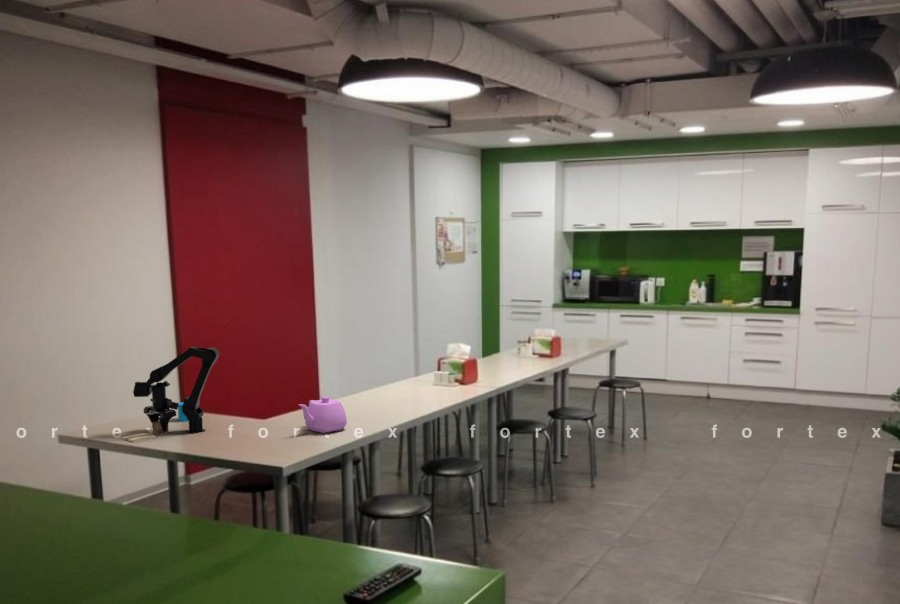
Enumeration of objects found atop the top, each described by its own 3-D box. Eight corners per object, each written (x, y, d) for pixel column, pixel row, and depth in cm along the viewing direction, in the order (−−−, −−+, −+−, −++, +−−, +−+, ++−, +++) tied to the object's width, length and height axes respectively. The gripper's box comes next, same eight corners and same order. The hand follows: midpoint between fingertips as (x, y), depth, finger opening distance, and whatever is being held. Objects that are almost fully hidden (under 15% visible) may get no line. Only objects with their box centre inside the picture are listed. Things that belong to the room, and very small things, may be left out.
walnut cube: (168, 432, 324) (168, 421, 324) (158, 434, 320) (157, 423, 320) (163, 430, 327) (162, 420, 327) (152, 433, 323) (152, 422, 323)
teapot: (325, 422, 339) (324, 390, 338) (352, 429, 324) (351, 396, 323) (283, 431, 323) (282, 398, 322) (310, 439, 308) (309, 404, 307)
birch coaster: (155, 437, 315) (155, 435, 315) (133, 442, 307) (133, 440, 307) (144, 434, 321) (144, 432, 321) (122, 438, 313) (122, 437, 313)
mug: (189, 422, 344) (189, 405, 344) (174, 421, 346) (174, 404, 345) (204, 416, 356) (203, 400, 355) (189, 416, 358) (188, 399, 357)
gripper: (186, 395, 323) (187, 429, 324) (165, 391, 335) (166, 424, 336) (163, 399, 314) (164, 434, 315) (142, 395, 326) (143, 428, 327)
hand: (160, 430), depth 324 cm, fingers open, 7 cm apart
